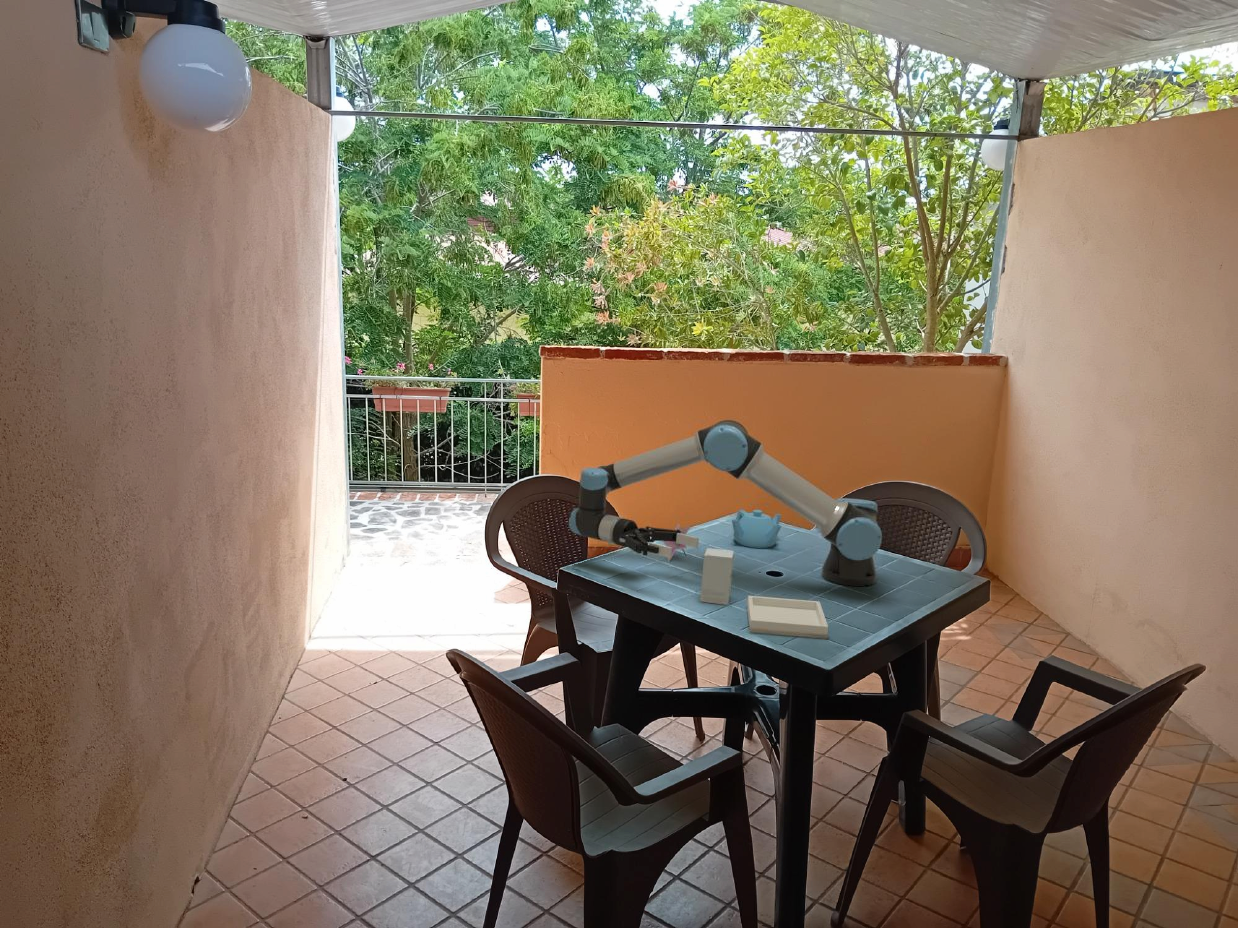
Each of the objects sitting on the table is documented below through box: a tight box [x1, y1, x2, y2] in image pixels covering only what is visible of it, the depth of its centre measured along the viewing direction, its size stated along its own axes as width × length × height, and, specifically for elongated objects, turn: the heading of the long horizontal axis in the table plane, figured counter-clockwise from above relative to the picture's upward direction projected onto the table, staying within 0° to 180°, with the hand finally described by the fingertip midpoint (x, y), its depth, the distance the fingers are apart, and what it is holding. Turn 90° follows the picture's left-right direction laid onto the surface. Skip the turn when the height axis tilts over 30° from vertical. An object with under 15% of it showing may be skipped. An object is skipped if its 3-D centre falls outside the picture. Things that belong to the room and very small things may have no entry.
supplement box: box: [699, 547, 735, 606], centre depth 243 cm, size 7×7×13 cm
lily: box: [662, 523, 691, 562], centre depth 279 cm, size 12×12×10 cm
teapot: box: [731, 509, 782, 549], centre depth 299 cm, size 15×15×11 cm
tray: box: [746, 595, 829, 640], centre depth 230 cm, size 18×18×3 cm
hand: (684, 547), depth 247 cm, fingers open, 13 cm apart
